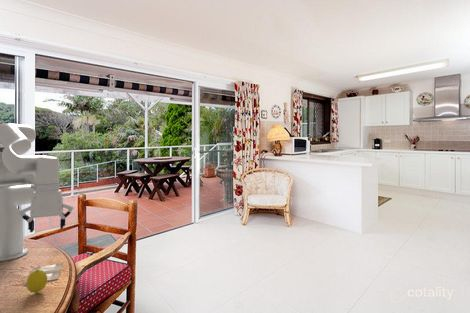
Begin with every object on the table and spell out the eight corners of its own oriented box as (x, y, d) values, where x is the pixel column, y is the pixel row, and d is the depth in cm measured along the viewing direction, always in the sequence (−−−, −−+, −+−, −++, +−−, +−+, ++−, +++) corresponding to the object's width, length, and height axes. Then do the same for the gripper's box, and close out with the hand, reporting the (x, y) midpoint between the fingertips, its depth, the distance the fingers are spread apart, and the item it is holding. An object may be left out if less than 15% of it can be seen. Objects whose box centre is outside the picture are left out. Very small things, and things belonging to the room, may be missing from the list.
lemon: (35, 299, 80) (35, 275, 80) (22, 296, 81) (22, 272, 81) (51, 289, 85) (51, 267, 85) (38, 287, 86) (38, 265, 86)
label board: (33, 268, 99) (33, 267, 99) (63, 263, 104) (63, 262, 104) (23, 286, 87) (23, 285, 87) (58, 279, 91) (58, 278, 91)
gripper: (16, 190, 90) (16, 235, 91) (72, 187, 98) (72, 229, 99) (22, 187, 97) (22, 229, 97) (74, 185, 105) (73, 224, 106)
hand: (47, 229), depth 98 cm, fingers open, 9 cm apart
